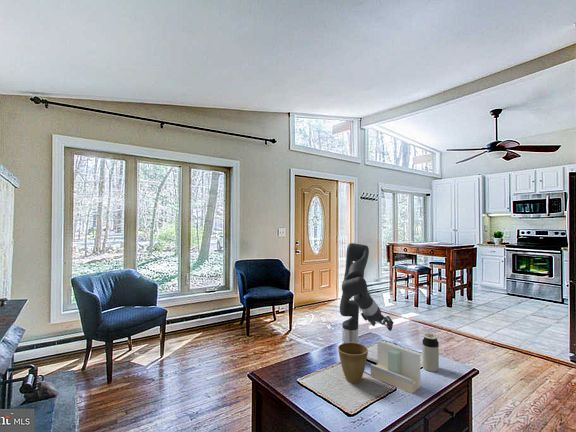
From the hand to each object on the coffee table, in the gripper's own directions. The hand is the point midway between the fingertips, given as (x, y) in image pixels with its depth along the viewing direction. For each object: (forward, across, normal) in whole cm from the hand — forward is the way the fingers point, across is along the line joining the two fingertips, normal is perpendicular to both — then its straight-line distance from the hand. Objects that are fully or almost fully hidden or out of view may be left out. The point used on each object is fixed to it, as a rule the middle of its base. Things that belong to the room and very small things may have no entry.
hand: (382, 326), depth 148 cm
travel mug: (+48, -8, -5) cm, 49 cm away
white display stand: (+30, 0, +13) cm, 33 cm away
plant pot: (+21, +16, +23) cm, 35 cm away
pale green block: (+27, 0, +10) cm, 29 cm away
